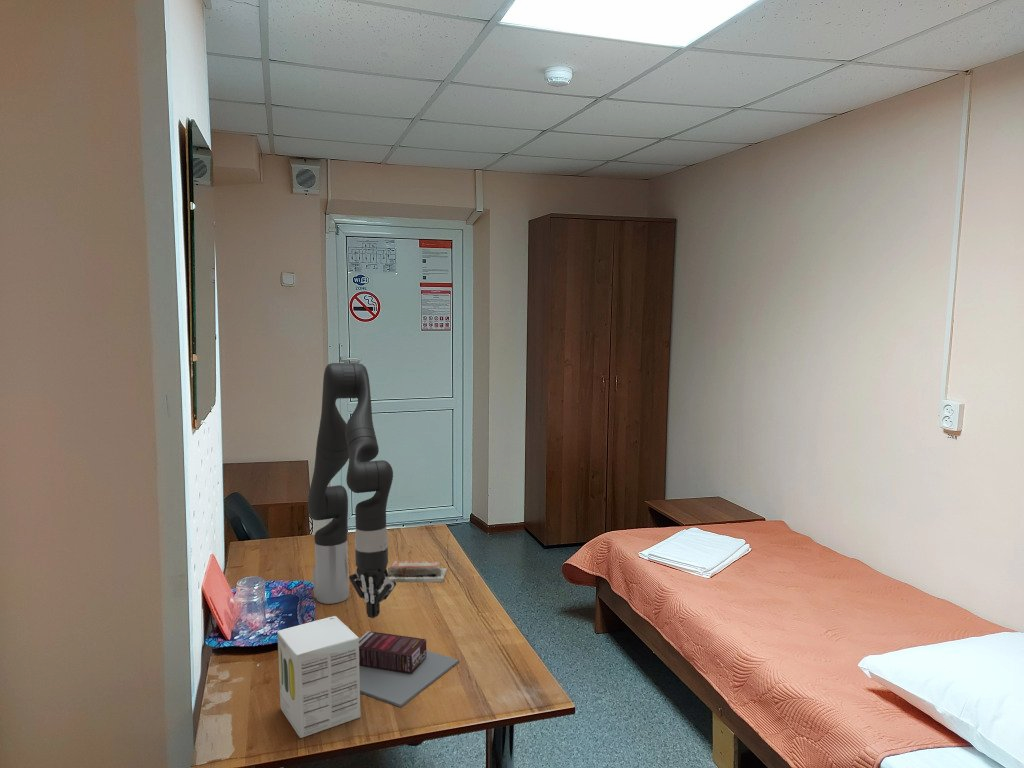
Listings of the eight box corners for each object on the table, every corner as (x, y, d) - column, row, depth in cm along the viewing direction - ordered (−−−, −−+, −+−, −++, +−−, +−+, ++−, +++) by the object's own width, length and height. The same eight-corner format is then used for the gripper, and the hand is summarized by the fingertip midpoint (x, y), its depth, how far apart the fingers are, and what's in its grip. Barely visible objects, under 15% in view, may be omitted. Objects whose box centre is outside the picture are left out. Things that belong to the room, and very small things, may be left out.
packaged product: (385, 568, 217) (391, 557, 227) (385, 583, 218) (391, 571, 228) (443, 568, 217) (446, 557, 227) (443, 583, 218) (447, 571, 227)
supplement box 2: (350, 665, 166) (411, 675, 161) (349, 646, 165) (411, 655, 161) (368, 648, 174) (427, 657, 169) (368, 629, 174) (426, 638, 169)
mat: (331, 682, 159) (331, 680, 159) (393, 642, 178) (393, 640, 178) (400, 707, 149) (400, 704, 149) (459, 662, 168) (459, 659, 168)
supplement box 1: (278, 708, 149) (275, 630, 147) (338, 689, 157) (336, 614, 155) (299, 739, 138) (296, 655, 136) (362, 717, 146) (360, 637, 144)
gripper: (339, 545, 164) (341, 616, 166) (382, 555, 157) (384, 629, 159) (361, 536, 170) (362, 605, 172) (404, 545, 164) (405, 616, 166)
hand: (373, 616), depth 166 cm, fingers closed
